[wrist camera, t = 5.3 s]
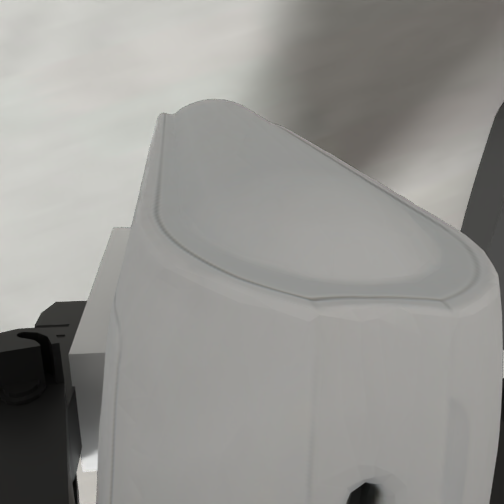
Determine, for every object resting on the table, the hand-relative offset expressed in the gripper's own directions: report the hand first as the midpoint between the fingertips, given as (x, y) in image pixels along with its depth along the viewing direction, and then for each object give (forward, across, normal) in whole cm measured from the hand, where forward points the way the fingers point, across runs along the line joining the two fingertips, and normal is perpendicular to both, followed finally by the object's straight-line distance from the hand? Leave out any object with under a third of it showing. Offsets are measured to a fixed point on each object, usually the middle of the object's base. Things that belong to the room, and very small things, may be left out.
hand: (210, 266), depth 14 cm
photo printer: (+1, 0, 0) cm, 1 cm away
